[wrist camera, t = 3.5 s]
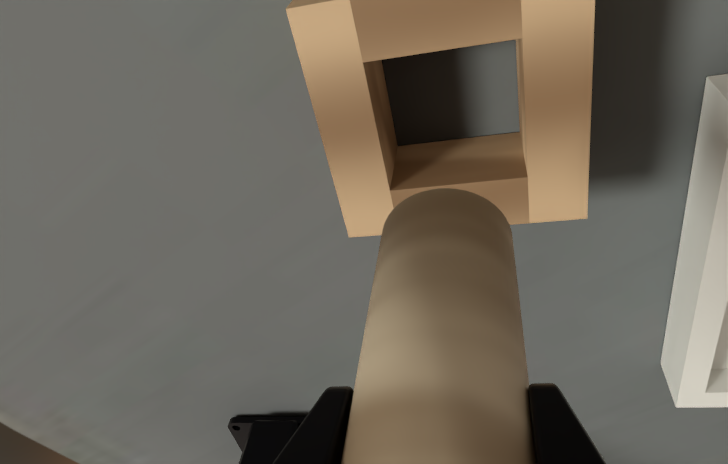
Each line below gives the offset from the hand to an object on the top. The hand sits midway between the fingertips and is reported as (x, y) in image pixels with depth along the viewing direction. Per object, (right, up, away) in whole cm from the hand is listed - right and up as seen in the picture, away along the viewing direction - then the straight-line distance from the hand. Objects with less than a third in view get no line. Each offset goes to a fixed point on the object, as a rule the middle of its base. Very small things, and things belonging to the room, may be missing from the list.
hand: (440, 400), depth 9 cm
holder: (+2, +8, +10) cm, 13 cm away
